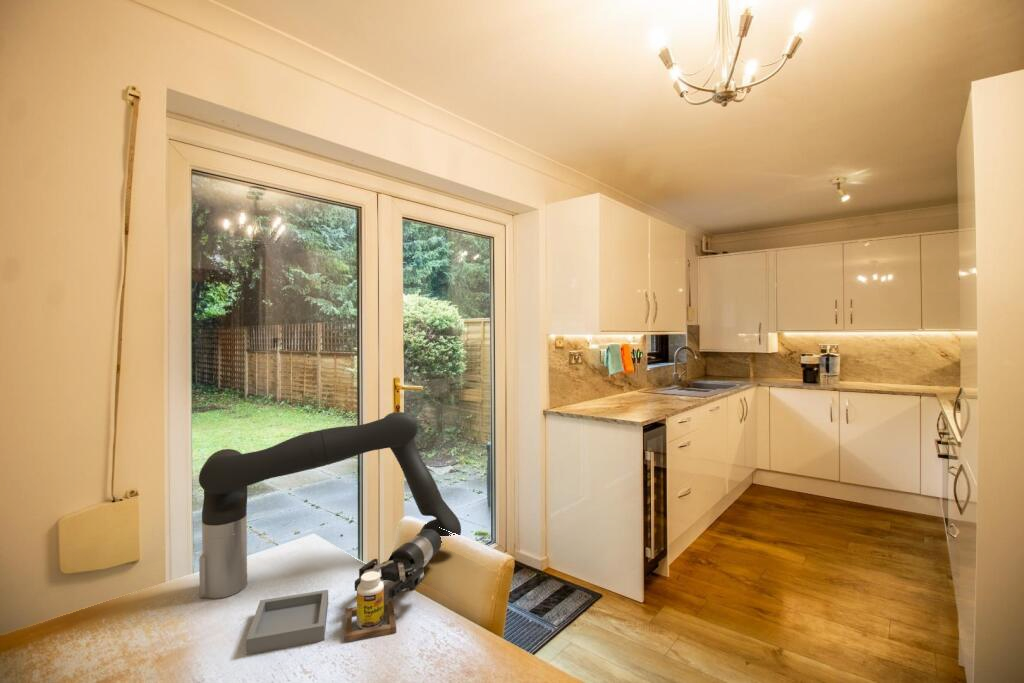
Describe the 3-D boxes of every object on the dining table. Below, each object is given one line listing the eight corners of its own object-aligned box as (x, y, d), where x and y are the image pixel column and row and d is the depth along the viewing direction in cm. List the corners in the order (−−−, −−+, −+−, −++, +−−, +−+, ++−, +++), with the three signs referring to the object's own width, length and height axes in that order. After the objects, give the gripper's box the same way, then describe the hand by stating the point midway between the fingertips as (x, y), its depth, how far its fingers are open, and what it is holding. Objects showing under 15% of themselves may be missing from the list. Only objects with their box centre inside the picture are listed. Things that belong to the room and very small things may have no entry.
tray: (246, 654, 90) (246, 639, 90) (260, 613, 104) (260, 600, 104) (324, 640, 95) (324, 625, 95) (328, 602, 108) (328, 589, 108)
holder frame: (345, 642, 94) (345, 636, 94) (346, 614, 104) (346, 608, 104) (396, 632, 97) (396, 626, 97) (392, 605, 107) (392, 600, 107)
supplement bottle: (360, 634, 97) (360, 585, 97) (353, 620, 101) (353, 573, 101) (387, 625, 100) (387, 577, 100) (379, 612, 104) (379, 566, 104)
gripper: (387, 537, 119) (345, 568, 104) (437, 546, 114) (401, 579, 99) (387, 567, 119) (345, 601, 104) (437, 576, 115) (401, 614, 99)
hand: (372, 590), depth 101 cm, fingers open, 8 cm apart
